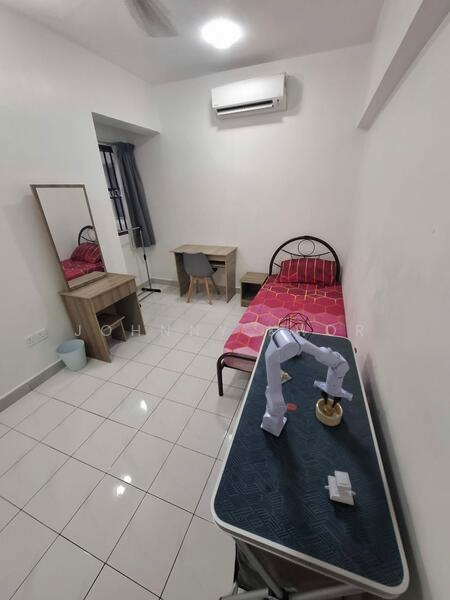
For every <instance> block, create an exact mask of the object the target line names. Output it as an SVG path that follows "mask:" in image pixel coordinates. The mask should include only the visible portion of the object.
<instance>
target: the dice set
mask: <svg viewBox="0 0 450 600" xmlns="http://www.w3.org/2000/svg"><path fill="white" fill-rule="evenodd" d="M280 371H281V385H282V384H284V383H286V382H287V381H289V380H291V379H292V376H290V375H289V374H288V373H287V372H285V370H283V369H282V368H280Z"/></svg>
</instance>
